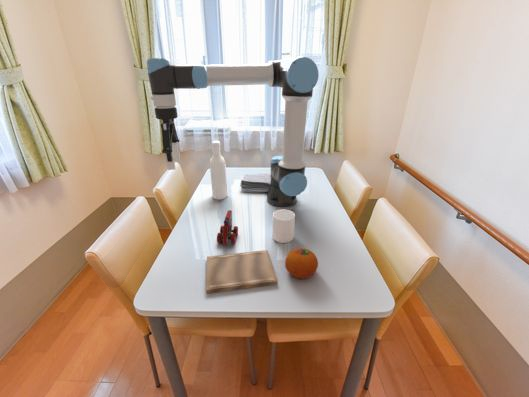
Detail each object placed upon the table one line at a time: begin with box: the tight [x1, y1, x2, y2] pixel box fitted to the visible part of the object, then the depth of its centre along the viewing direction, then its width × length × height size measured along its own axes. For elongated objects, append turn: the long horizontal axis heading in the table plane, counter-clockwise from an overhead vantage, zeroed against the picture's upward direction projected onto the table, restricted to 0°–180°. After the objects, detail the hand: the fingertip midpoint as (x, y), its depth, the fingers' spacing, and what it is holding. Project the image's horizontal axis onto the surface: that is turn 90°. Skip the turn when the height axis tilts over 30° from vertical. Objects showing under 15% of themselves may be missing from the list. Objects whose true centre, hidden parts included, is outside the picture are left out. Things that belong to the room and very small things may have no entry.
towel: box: [239, 173, 271, 193], centre depth 149 cm, size 15×18×8 cm
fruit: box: [284, 247, 319, 280], centre depth 87 cm, size 11×10×8 cm
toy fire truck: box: [216, 209, 239, 246], centre depth 104 cm, size 7×12×10 cm, turn 176°
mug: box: [272, 208, 296, 244], centre depth 107 cm, size 9×12×11 cm
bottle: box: [209, 140, 229, 200], centre depth 134 cm, size 8×8×30 cm
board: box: [205, 249, 278, 294], centre depth 89 cm, size 22×16×2 cm
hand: (174, 163), depth 104 cm, fingers open, 13 cm apart
